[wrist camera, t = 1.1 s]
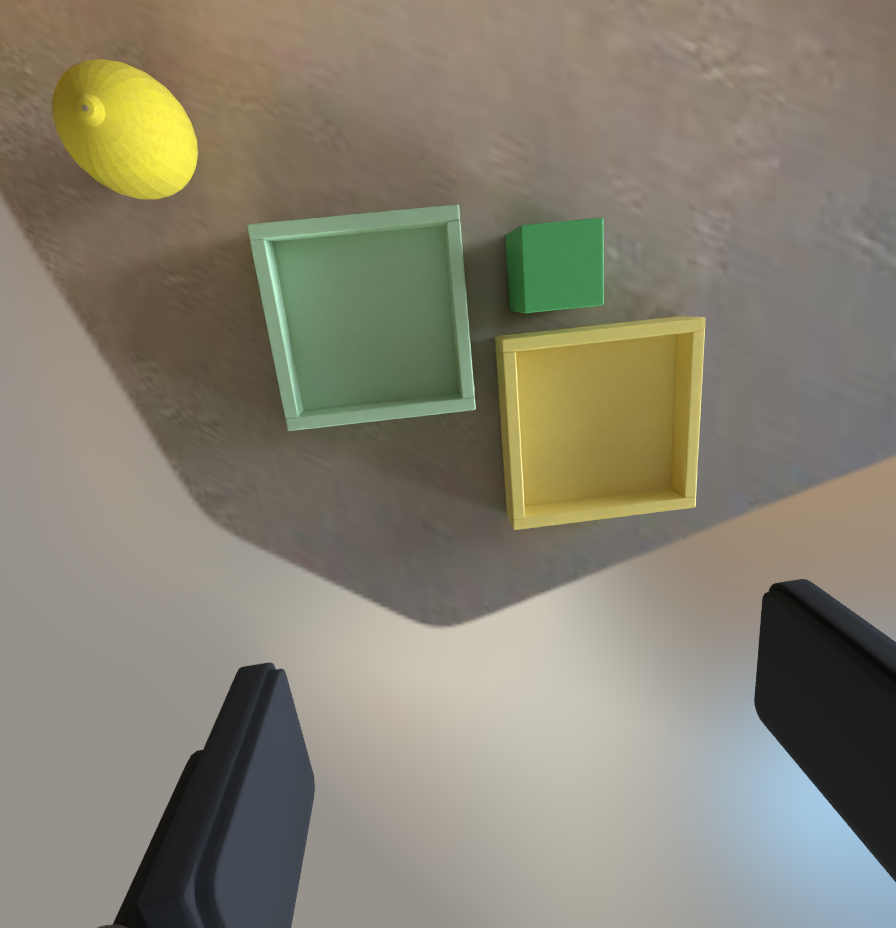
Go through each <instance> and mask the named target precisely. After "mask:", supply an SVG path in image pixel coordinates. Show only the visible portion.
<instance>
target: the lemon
mask: <svg viewBox="0 0 896 928" xmlns="http://www.w3.org/2000/svg"><path fill="white" fill-rule="evenodd" d="M52 110H53V119H54V123H55V127H56V130H57V133H58V135H59V137H60V139H61V141H62V143H63V145H64V146H65V148H66V150H67V151H68V152H69V154H70V155H71V156H72V157H73V159H74V160H75V161H76V162H77V164H78V165H79V166H80V167H81V168H82V169H84V170H85V171H86V172H87V173H88V174H89V175H91V176H92V177H93V178H94V179H95V180H97V181H98V182H99V183H101V184H103V185H105V186H106V187H108V188H110V189H112V190H114V191H116V192H118V193H120V194H123V195H127V196H130V197H134V198H138V199H160V198H164V197H168V196H171V195H173V194H175V193H176V192H178V191H180V190H181V189H183V188H184V186H185V185H186V184H187V183H188V182H189V180H190V179H191V177H192V175H193V173H194V170H195V168H196V163H197V157H198V149H197V139H196V136H195V133H194V130H193V126H192V123H191V122H190V120H189V118H188V116H187V114H186V112H185V111H184V109H183V107H182V106H181V104H180V103H179V102H178V101H177V100H176V98H175V97H174V96H173V95H172V94H171V93H170V92H169V90H168V89H167V88H166V87H164V86H163V85H162V84H160V83H159V82H158V81H156V80H155V79H154V78H152V77H151V76H150V75H148V74H147V73H145V72H143V71H141V70H139V69H136V68H134V67H132V66H130V65H127V64H125V63H122V62H117V61H111V60H105V59H96V60H87V61H83V62H80V63H78V64H76V65H74V66H72V67H70V68H69V69H68V70H67V71H66V72H65V73H64V74H63V75H62V76H61V78H60V80H59V81H58V83H57V85H56V87H55V91H54V95H53V99H52Z"/></svg>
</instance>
